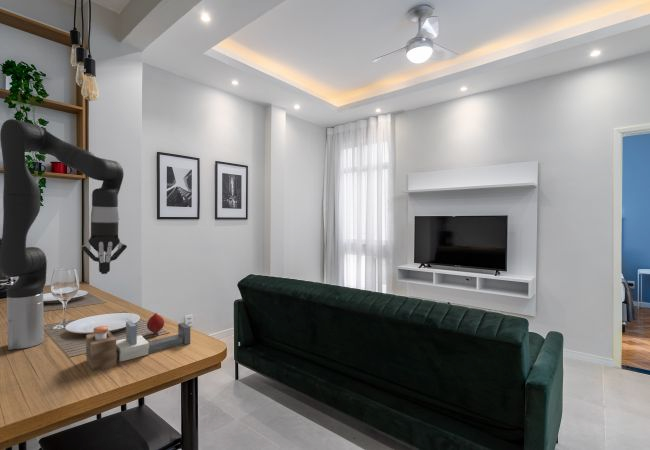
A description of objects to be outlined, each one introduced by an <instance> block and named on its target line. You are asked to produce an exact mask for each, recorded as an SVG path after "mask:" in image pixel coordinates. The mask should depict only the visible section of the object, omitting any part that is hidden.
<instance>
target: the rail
mask: <svg viewBox="0 0 650 450" xmlns="http://www.w3.org/2000/svg"><path fill="white" fill-rule="evenodd" d="M177 326H178V327H177V331H178V332H177V334H174V335H169V336H165V337H161V338H157V339H156V338H155V339H152V340H148V342H149V348H148V354H151V353H155V352H158V351H164V350H166V349H170V348H173V347H179V346H182V345H184V346H186V345H190V344H191V326H190V325H189V324H187V323H186V322H180V323H177ZM117 362H120V361H119V352H118V351H117V349H116V363H117Z"/></svg>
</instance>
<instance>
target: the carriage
mask: <svg viewBox="0 0 650 450" xmlns="http://www.w3.org/2000/svg"><path fill="white" fill-rule="evenodd" d="M137 331H138V329H137V324H135V323H134V322H133V321H132V320H129V321H125V338H122V339H118V340H117V339H116V349H117V351H118V352H119V361H118V362H123V361H124V362H125V361H128V360H132V359H136V358H140V357H142V356H143V357H144V356H147V355H149V353H148V348H149V342H148V341H149V340H148V341H147V339H145V338H144V336H142V335H141V334H140V335H138V334H137V333H138V332H137Z"/></svg>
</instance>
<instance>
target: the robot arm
mask: <svg viewBox="0 0 650 450" xmlns="http://www.w3.org/2000/svg"><path fill="white" fill-rule="evenodd" d="M0 147H1V148H0V149H1V155H2V164H3V165H2V166H3V168H2V169H3V192H2V206H3V207H2V209H3V219H2V221H3V222H2V233H1V234H2V236H1V243H0V271H1V272H2V274H3V275H4V276H6V277H9V278H17V277H18V278H17V280H16V281H15V282H14V283H13V284H12V285H10V286H8V288H7V289H6V305H7V307H6V313H7V316H6V317H7V319H6V320H7V350H8V351H9V350H10V351H11V350H22V349H26V348H27V349H28V348H32V347H35V346H37V345H40V344H43V342H44V341H45V327H44V325H45V319H44V317H45V315H44V288H45V286H46V282H47V268H48V267H47V266H48V265H47V263H48V261H47V257H46V254H45V252H44V250H43V249H41V248H39V247H36V246H29V247H27V237H28V233H29V230H30V229H31V227H32V226H33V224H34V222H35V221H36V219H37V218H38V215H39V213H40V211H41V189H40V187H39V184H38V182H37V181H36V179H35V178H34V176H33V175H32V173H31V172H30V170H29V167H28V165H27V162H26V152H37V153H42V154H47V155H50V156H53V157H54V158H55V159H56V160H57V161H59V162H60V163H62V164H63V165H65V166H66V167H69V168H71V169H74V170H77V171H79V172H80V173H82V174H83V175H85V176H86V177H87V178H90V179H92V180H96V181H100V182H101V181H102V184H101V187H99V188H94V189H93V190H92V194H91V210H90V237H89V239H88V242H87V243H85V244H84V245H81V246H80V249H81V250H82V251H83V252H84V253H85V254H86V255H87V256H88V257H89V258H90V259H91V260H92V261H93V262H98V272H99V273H101V275H107V274H108V273H109V272H110V270H111V267H110V266H111V262H113V261H116V260H117V259H118V258H119V257H120V255H122V253H124V251H125V250H126V249H127V247H128V246H127V245H126V244H125V243H122V242H121V240H120V238H119V220H120V217H119V208H118V207H119V206H118V204H119V199H118V198H119V197H118V196H119V193H120V190H121V187H122V183H123V180H124V173H125V172H124V169H123V166H122V165H121V163H119V162H117V161H116V160H111V159H105V158H101V157H98V156H96V155H94V153H92V152H91V151H89V150H87V149H85V148H82V147H79V146H77V145H75V144H71V143H69V142H66V141H65V140H62V139H61V138H58V137H57V136H56V135H53V134H52V133H51V132H49V131H47V130H46V129H44V128H43V127H41V126H39V125H37V124H34V123H30V122H26V121H22V120H19V119H13V118H11V119H9V118H8V119H7V120H4V122H3V123H2V125H1V128H0ZM116 247H117V250H115V249H116ZM92 248H93V249H94V250H95V252H97V256H96V255H95V254H93V252H91V250H92ZM114 250H115V252H113V251H114ZM112 252H113V253H112Z"/></svg>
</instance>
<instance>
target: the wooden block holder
mask: <svg viewBox="0 0 650 450" xmlns="http://www.w3.org/2000/svg"><path fill="white" fill-rule="evenodd" d="M116 341H117V338H116V337H115V336H114V335H113V334H112V332H111V331H110V330H109V329H108V331H106V338H105V339H100V340H95V333H94V332H93V333H90V334H86V335H85V347H86V349H85V351H86V355H85V357H86V362H87V364H88V366H89V368H90V370H91V372H92V373H94V372H97V371H100V370H101V371H102V370H105V369H109V368H112V367H116V366H117V362H116Z"/></svg>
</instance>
